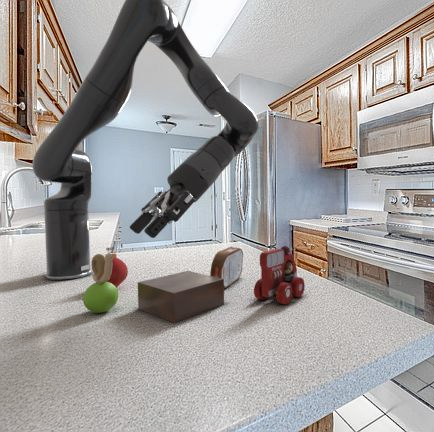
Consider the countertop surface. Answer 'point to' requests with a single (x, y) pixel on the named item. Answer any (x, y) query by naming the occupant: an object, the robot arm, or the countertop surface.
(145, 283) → the walnut block
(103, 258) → the green tan rounded piece
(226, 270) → the tin
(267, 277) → the toy fire truck
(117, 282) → the onion
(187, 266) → the countertop surface
